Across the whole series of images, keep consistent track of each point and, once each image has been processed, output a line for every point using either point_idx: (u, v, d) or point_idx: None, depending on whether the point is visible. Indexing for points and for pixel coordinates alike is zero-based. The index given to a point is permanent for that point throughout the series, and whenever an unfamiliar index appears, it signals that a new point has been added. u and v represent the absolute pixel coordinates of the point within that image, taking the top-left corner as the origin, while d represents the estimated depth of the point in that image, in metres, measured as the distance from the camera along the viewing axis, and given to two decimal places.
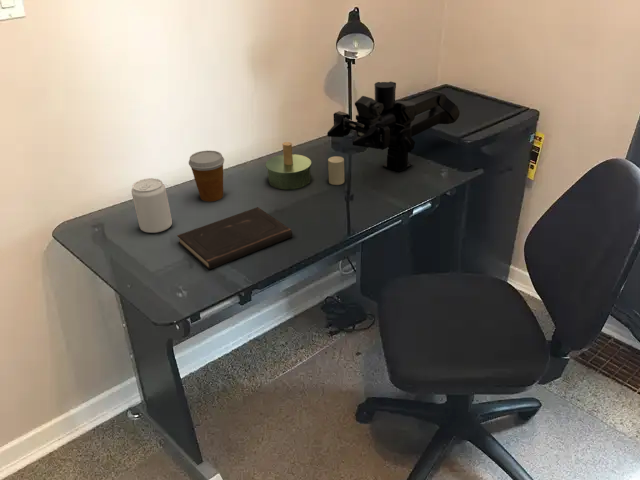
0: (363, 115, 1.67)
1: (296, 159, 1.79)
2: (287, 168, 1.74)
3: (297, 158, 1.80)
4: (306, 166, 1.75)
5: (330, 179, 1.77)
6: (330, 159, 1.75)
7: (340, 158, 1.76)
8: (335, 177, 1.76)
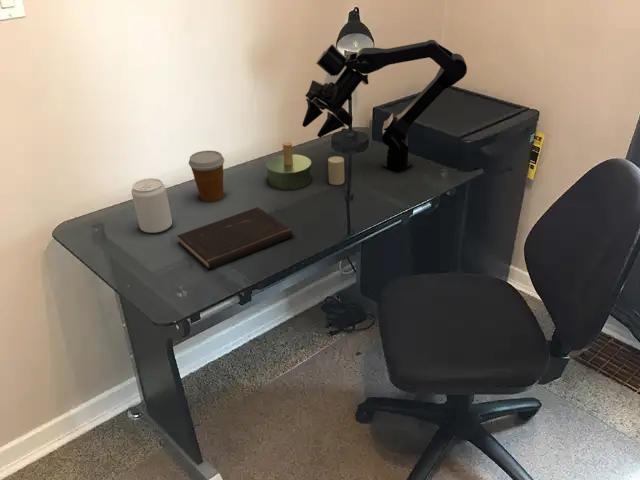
0: None
1: (296, 159, 1.79)
2: (287, 168, 1.74)
3: (297, 158, 1.80)
4: (306, 166, 1.75)
5: (330, 179, 1.77)
6: (330, 159, 1.75)
7: (340, 158, 1.76)
8: (335, 177, 1.76)
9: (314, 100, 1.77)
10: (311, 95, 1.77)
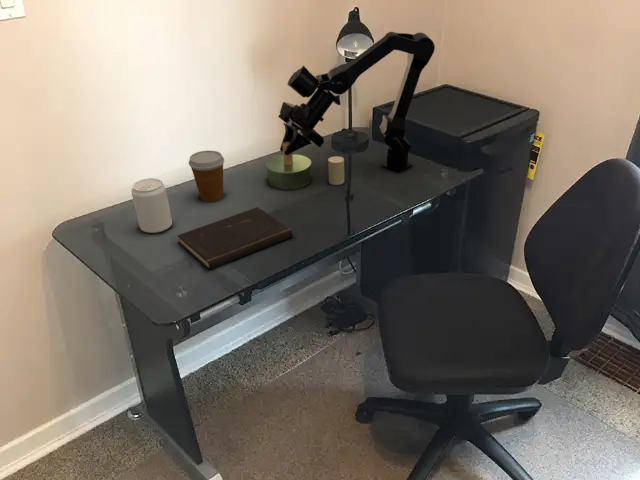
0: None
1: (296, 159, 1.79)
2: (287, 168, 1.74)
3: (297, 158, 1.80)
4: (306, 166, 1.75)
5: (330, 179, 1.77)
6: (330, 159, 1.75)
7: (340, 158, 1.76)
8: (335, 177, 1.76)
9: (291, 124, 1.74)
10: (283, 116, 1.76)
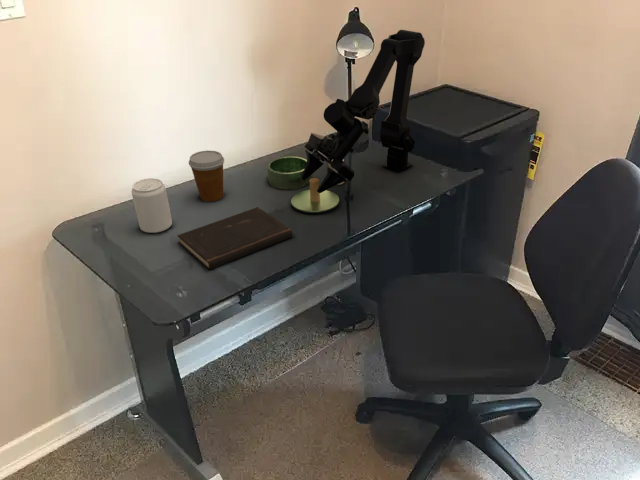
0: None
1: (323, 195, 1.69)
2: (314, 205, 1.64)
3: (324, 193, 1.70)
4: (334, 203, 1.65)
5: None
6: None
7: None
8: None
9: (314, 152, 1.66)
10: (310, 147, 1.65)
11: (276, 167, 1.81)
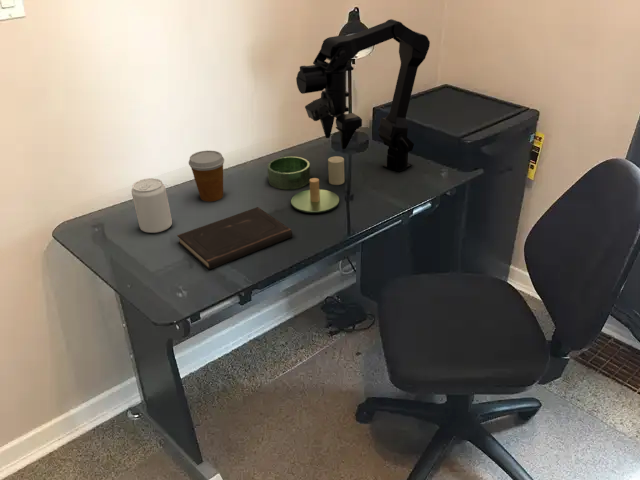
0: None
1: (323, 195, 1.69)
2: (314, 205, 1.64)
3: (324, 193, 1.70)
4: (334, 203, 1.65)
5: (330, 179, 1.77)
6: (330, 159, 1.75)
7: (340, 158, 1.76)
8: (335, 177, 1.76)
9: None
10: None
11: (276, 167, 1.81)
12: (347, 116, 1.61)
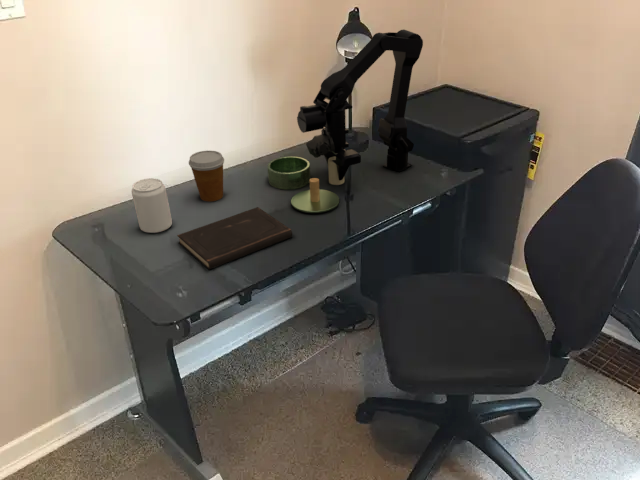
0: None
1: (323, 195, 1.69)
2: (314, 205, 1.64)
3: (324, 193, 1.70)
4: (334, 203, 1.65)
5: (330, 179, 1.77)
6: (330, 159, 1.75)
7: None
8: (335, 177, 1.76)
9: None
10: None
11: (276, 167, 1.81)
12: (346, 153, 1.67)
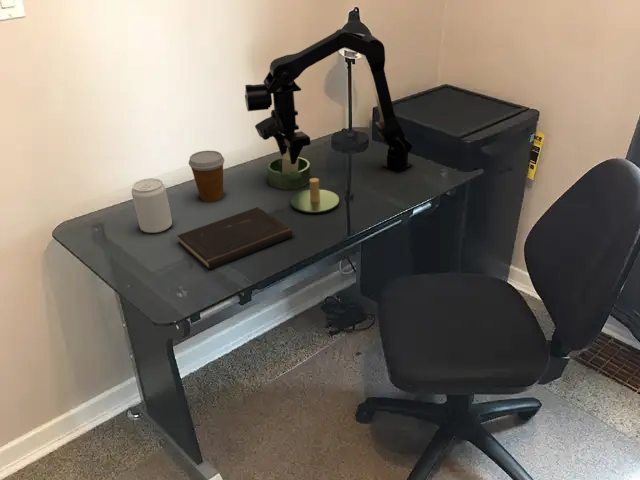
0: None
1: (323, 195, 1.69)
2: (314, 205, 1.64)
3: (324, 193, 1.70)
4: (334, 203, 1.65)
5: None
6: (284, 155, 1.75)
7: None
8: None
9: None
10: None
11: (276, 167, 1.81)
12: (295, 135, 1.65)
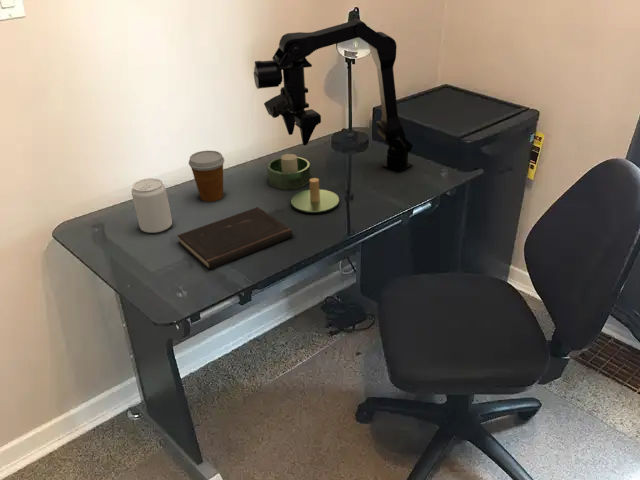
0: None
1: (323, 195, 1.69)
2: (314, 205, 1.64)
3: (324, 193, 1.70)
4: (334, 203, 1.65)
5: None
6: (283, 156, 1.76)
7: (293, 156, 1.76)
8: None
9: None
10: None
11: (276, 167, 1.81)
12: (305, 112, 1.61)
